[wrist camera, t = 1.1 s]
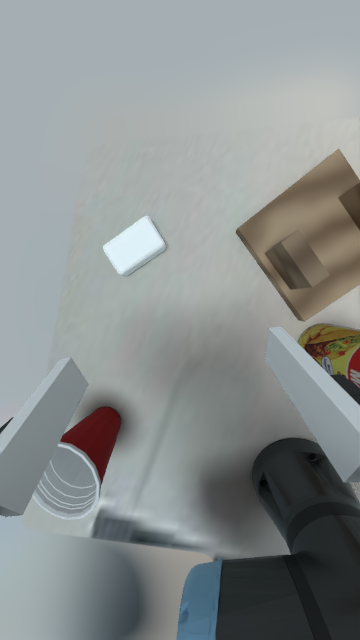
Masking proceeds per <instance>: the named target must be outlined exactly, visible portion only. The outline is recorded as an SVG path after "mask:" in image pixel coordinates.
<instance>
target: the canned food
mask: <svg viewBox="0 0 360 640" xmlns="http://www.w3.org/2000/svg"><path fill="white" fill-rule="evenodd" d="M298 344H299V345H300V346H301V347H302V348H303V349H304V350H305V351H306V352H307V353H308V354H309V355H310V356H311V357H312V358H313V359H314V360H315V361H316V362H317V363H318V364H319V365H320V366H321V367H322V368H323V369H324V370H325V371H326V372H327V373H328V374H329V375H335V374H340V375H342V376H344V377H345V378H347V379H349V380H350V381H352V382H354V383H355V384H356V385H357V386H358V387H359V388H360V330H358V329H353V328H347V327H342V326H336V325H330V324H318V325H314V326H312V327H310V328H308V329H307V330H306V331H304V332H303V334H302V335H301V336H300V338H299V341H298Z"/></svg>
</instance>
